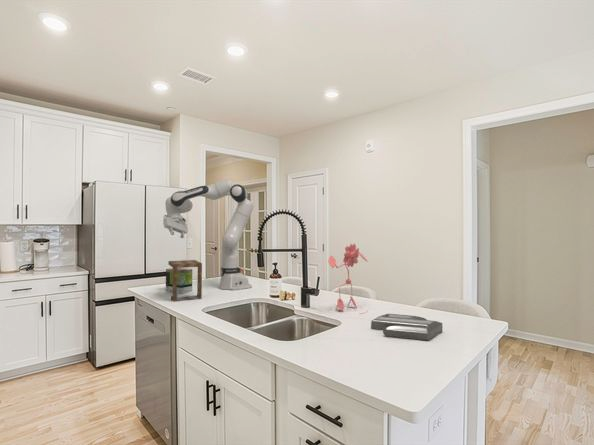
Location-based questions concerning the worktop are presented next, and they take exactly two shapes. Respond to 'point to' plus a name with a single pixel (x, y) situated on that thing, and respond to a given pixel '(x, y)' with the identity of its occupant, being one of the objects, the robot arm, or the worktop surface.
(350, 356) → the worktop surface
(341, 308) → the pink flower figurine
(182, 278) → the tea box
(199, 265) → the walnut shelf
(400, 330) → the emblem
